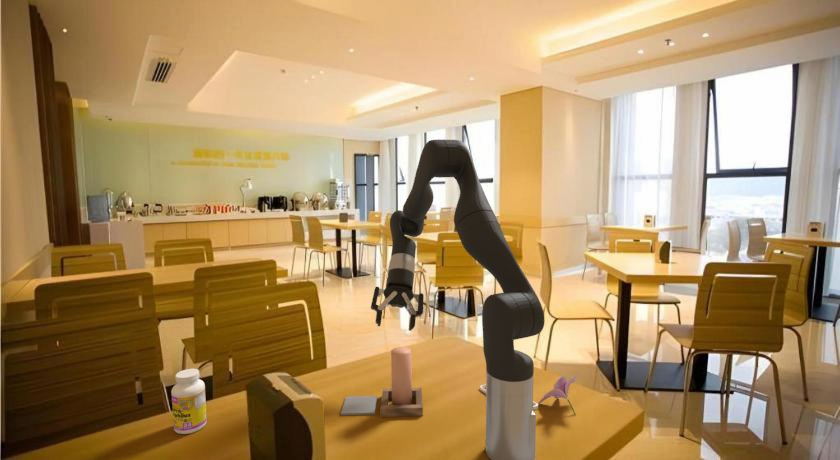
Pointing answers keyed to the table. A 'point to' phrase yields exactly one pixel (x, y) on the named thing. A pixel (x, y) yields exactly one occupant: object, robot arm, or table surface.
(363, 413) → the mat
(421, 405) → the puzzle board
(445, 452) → the table surface
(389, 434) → the table surface
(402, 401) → the post
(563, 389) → the lily
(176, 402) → the supplement bottle
